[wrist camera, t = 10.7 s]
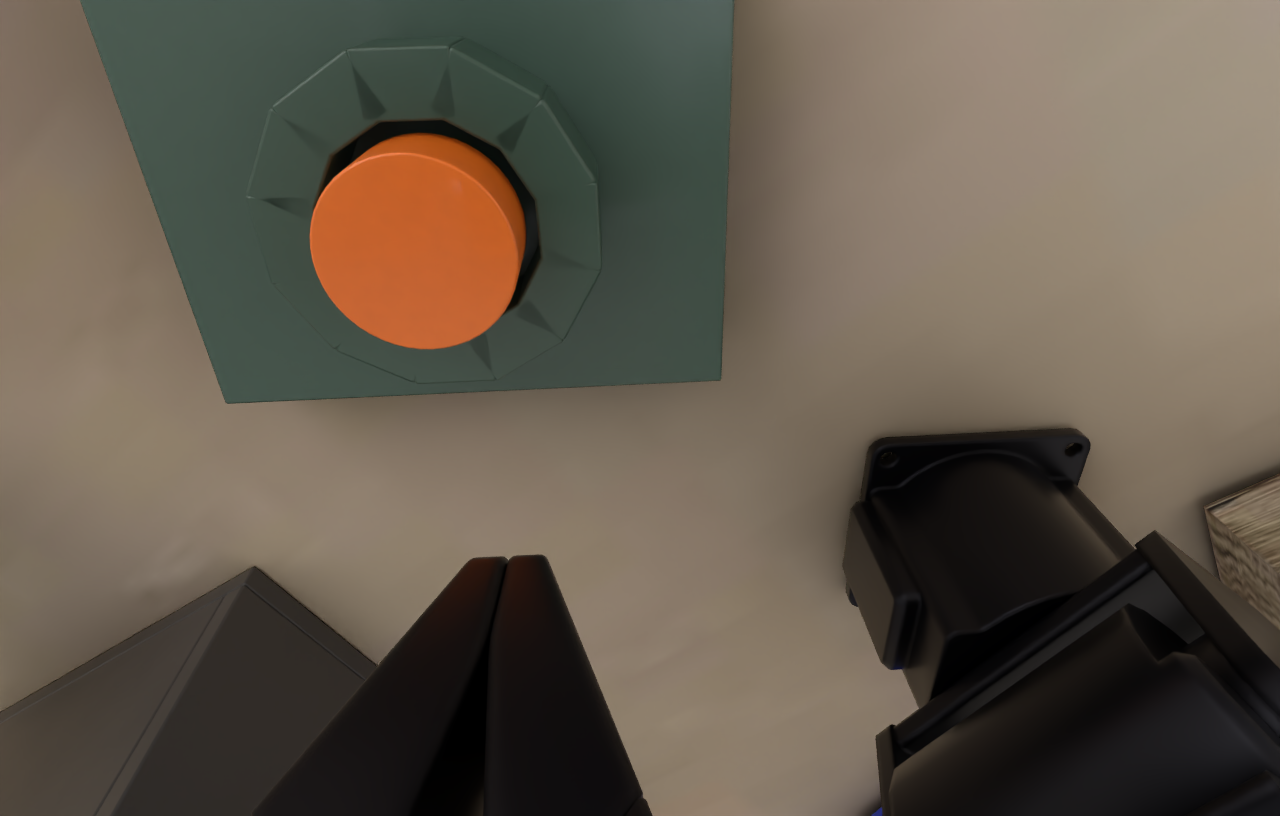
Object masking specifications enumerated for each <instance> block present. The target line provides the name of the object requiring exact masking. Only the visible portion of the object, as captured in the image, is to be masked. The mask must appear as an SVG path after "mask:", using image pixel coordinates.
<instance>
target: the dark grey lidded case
mask: <svg viewBox="0 0 1280 816" xmlns="http://www.w3.org/2000/svg"><path fill="white" fill-rule="evenodd" d="M376 667H377V666H375V665H374V664H373V663H372V662H371V661H369V660H368V659H367V658H366V657H364V656H363V655H362V654H361V653H360V652H358V651H357V650H356V649H355V648H353V647H352V646H351V645H350V644H349V643H347V642H346V641H345V640H344V639H342V638H341V637H340V636H339V635H338V634H336V633H335V632H334V631H333V630H331V629H330V628H329V627H328V626H326V625H325V624H324V623H323V622H322V621H320V620H319V619H318V618H317V617H315V616H314V615H313V614H312V613H311V612H309V611H308V610H307V609H306V608H304V607H303V606H302V605H301V604H300V603H298V602H297V601H296V600H295V599H293V598H292V597H291V596H290V595H289V594H287V593H286V592H285V591H284V590H282V589H281V588H280V587H279V586H278V585H276V584H275V583H274V582H273V581H271V580H270V579H269V578H268V577H267V576H265V575H264V574H263V573H262V572H260V571H259V570H258V569H257V568H255V567H252V568H251V569H249V570H247V571H245V572H244V573H242V574H240V575H239V576H237V577H235V578H233V579H232V580H230V581H228V582H226V583H225V584H223V585H221V586H219V587H218V588H216V589H214V590H212V591H211V592H209V593H207V594H206V595H204V596H202V597H200V598H199V599H197V600H195V601H193V602H192V603H190V604H188V605H186V606H185V607H183V608H181V609H179V610H178V611H176V612H174V613H172V614H171V615H169V616H167V617H166V618H164V619H162V620H160V621H159V622H157V623H155V624H153V625H152V626H150V627H148V628H146V629H145V630H143V631H141V632H139V633H138V634H136V635H134V636H133V637H131V638H129V639H127V640H126V641H124V642H122V643H120V644H119V645H117V646H115V647H113V648H112V649H110V650H108V651H106V652H105V653H103V654H101V655H99V656H98V657H96V658H94V659H93V660H91V661H89V662H87V663H86V664H84V665H82V666H80V667H79V668H77V669H75V670H73V671H72V672H70V673H68V674H66V675H65V676H63V677H61V678H60V679H58V680H56V681H54V682H53V683H51V684H49V685H47V686H46V687H44V688H42V689H40V690H39V691H37V692H35V693H33V694H32V695H30V696H28V697H26V698H25V699H23V700H21V701H20V702H18V703H16V704H14V705H13V706H11V707H9V708H7V709H6V710H4V711H2V712H0V816H251V813H252V811H253V810H254V809H255V807H256V806H257V805H258V804H259V803H260V802H261V801H262V799H263V798H264V797H265V796H266V795H267V794H268V792H269V791H270V790H271V789H272V788H273V787H274V785H275V784H276V783H277V782H278V781H279V780H280V779H281V777H282V776H283V775H284V774H285V773H286V772H287V770H288V769H289V768H290V767H291V766H292V765H293V763H294V762H295V761H296V760H297V759H298V758H299V756H300V755H301V754H302V753H303V752H304V751H305V750H306V748H307V747H308V746H309V745H310V744H311V743H312V741H313V740H314V739H315V738H316V737H317V736H318V734H319V733H320V732H321V731H322V730H323V729H324V728H325V726H326V725H327V724H328V723H329V722H330V721H331V719H332V718H333V717H334V716H335V715H336V714H337V712H338V711H339V710H340V709H341V708H342V707H343V706H344V704H345V703H346V702H347V701H348V700H349V699H350V697H351V696H352V695H353V694H354V693H355V692H356V690H357V689H358V688H359V687H360V686H361V685H362V684H363V682H364V681H365V680H366V679H367V678H368V677H369V675H370V674H371V673H372V672H373V671H374V670H375V668H376Z"/></svg>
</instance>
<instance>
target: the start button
mask: <svg viewBox="0 0 1280 816" xmlns="http://www.w3.org/2000/svg"><path fill="white" fill-rule="evenodd" d="M525 247H526V223H525V217H524V212H523V209H522V206H521V203H520V200H519V198H518V196H517V194H516V191H515V190H514V188H513V186H512V185H511V183H510V181H509V180H508V178H507V177H506V176H505V175H504V173H503V172H502V171H501V170H500V169H499V168H498V167H497V166H496V165H495V164H494V163H493V162H492V161H491V160H490V159H489V158H488V157H486V156H485V155H484V154H483V153H481V152H480V151H478V150H477V149H475V148H473V147H472V146H470V145H468V144H466V143H464V142H461V141H459V140H457V139H454V138H451V137H447V136H444V135H439V134H433V133H409V134H402V135H398V136H394V137H391V138H388V139H386V140H384V141H381V142H379V143H378V144H376V145H374V146H373V147H371V148H370V149H368V150H367V151H366V152H365V153H363V154H362V155H361V156H360V157H358V158H357V159H356V160H355V161H353V162H352V163H351V164H350V165H348V166H347V167H346V168H345V169H343V170H342V171H341V172H340V173H339V174H338V175H336V176H335V177H334V178H333V179H332V180H331V182H330V183H329V184H328V185H327V186H326V187H325V189H324V191H323V192H322V194H321V195H320V197H319V199H318V201H317V204H316V206H315V209H314V211H313V216H312V220H311V226H310V250H311V255H312V260H313V264H314V267H315V270H316V273H317V276H318V278H319V280H320V282H321V284H322V286H323V288H324V290H325V291H326V293H327V294H328V296H329V297H330V299H331V300H332V301H333V303H334V304H335V305H336V306H337V308H338V309H339V310H340V311H341V312H342V313H343V314H344V315H345V316H346V317H347V318H348V319H350V320H351V321H352V322H353V323H355V324H356V325H357V326H358V327H360V328H361V329H363V330H365V331H366V332H368V333H369V334H371V335H373V336H375V337H377V338H379V339H381V340H384V341H387V342H389V343H392V344H395V345H399V346H403V347H407V348H415V349H441V348H447V347H452V346H456V345H459V344H462V343H465V342H467V341H470V340H472V339H474V338H475V337H477V336H479V335H481V334H482V333H484V332H485V331H486V330H488V329H489V328H490V327H491V326H492V325H493V324H494V323H495V322H496V321H497V320H498V319H499V318H500V317H501V315H502V314H503V313H504V312H505V310H506V308H507V307H508V305H509V303H510V301H511V299H512V296H513V294H514V291H515V288H516V284H517V280H518V276H519V272H520V268H521V264H522V260H523V256H524V252H525Z"/></svg>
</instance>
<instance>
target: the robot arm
mask: <svg viewBox="0 0 1280 816" xmlns="http://www.w3.org/2000/svg"><path fill="white" fill-rule="evenodd" d="M1072 443H1074V444H1073V445H1072V446H1071V447H1070V448H1068V449H1066V447H1067V446H1069V445H1070V444H1072ZM1090 445H1091V444H1090V441H1089V439H1088V438H1087V437H1086V436H1085V435H1083V434H1082V433H1081V432H1080V431H1079V430H1077V429H1071V428H1068V429H1048V430H1027V431H1007V432H987V433H967V434H946V435H926V436H906V437H886V438H882V439H879V440H877V441H875V442H874V443H873V444H872V445H871V446H870V447H869V449H868V452H867V458H866V464H865V470H864V477H863V483H862V489H861V496H860V502H856V503H855V505H854V506H853V507H852V508H851V512H850V519H849V525H848V532H847V538H846V545H845V552H844V558H843V565H842V567H843V570H844V573H845V575H846V578H847V584H846V593H847V596H848V598H849V601H850V602H851V604H852V605H854V606H856V607H859V610H860V612H861V614H862V617H863V619H864V622H865V624H866V627H867V629H868V632H869V634H870V636H871V639H872V641H873V644H874V646H875V649H876V651H877V654H878V656H879V659H880V661H881V663H882V664H884V665H885V666H886V667H887V668H888V669H890V670H897V669H902V670H903V673H904V675H905V677H906V680H907V682H908V684H909V686H910V689H911V691H912V693H913V696H914V698H915V700H916V703H917V705H918V707H919V709H918V710H917V711H915V712H914V713H913V714H911V715H910V716H909V717H907V718H906V719H905V720H903V721H902V722H901V723H899V724H898V725H896V726H895V725H893V724H892V725H890V726H889V727H887V728H886V729H885V730H883V731H882V732H880V733H879V734H878V735H876V748H877V759H878V770H879V782H880V793H881V804H882V816H1280V630H1279V629H1278V628H1277V627H1275V626H1274V625H1273V624H1272V623H1271V622H1270V621H1269V620H1268V619H1267V618H1266V617H1265V616H1264V615H1263V614H1261V613H1260V612H1259V611H1258V610H1257V609H1255V608H1254V607H1253V606H1252V605H1250V604H1249V603H1248V602H1247V601H1245V600H1244V599H1243V598H1241V597H1240V596H1239V595H1238V594H1236V593H1235V592H1234V591H1232V590H1231V589H1230V588H1229V587H1227V586H1226V585H1225V584H1223V583H1222V582H1221V581H1220V580H1218V579H1217V578H1216V577H1215V576H1213V575H1212V574H1211V573H1209V572H1208V571H1207V570H1206V569H1204V568H1203V567H1202V566H1200V565H1199V564H1198V563H1197V562H1195V561H1194V560H1193V559H1191V558H1190V557H1189V556H1188V555H1186V554H1185V553H1184V552H1183V551H1181V550H1180V549H1179V548H1177V547H1176V546H1175V545H1174V544H1172V543H1171V542H1170V541H1168V540H1167V539H1166V538H1165V537H1163V536H1162V535H1161V534H1159V533H1158V532H1157V531H1156V530H1154V531H1153V532H1151V533H1150V534H1149V535H1147V536H1146V537H1145V538H1143V539H1142V540H1140V541H1139V542H1138V543H1136V544H1135V546H1136V548H1137V549H1136V550H1135V549H1134V548H1133V547H1132V545H1131V544H1130V543H1129V542H1128V541H1127V540H1126V539H1125V538H1124V537H1123V536H1122V535H1121V534H1120V532H1119V531H1118V530H1117V529H1116V528H1115V527H1114V526H1113V525H1112V524H1111V523H1110V522H1109V521H1108V519H1107V518H1106V517H1105V516H1104V515H1103V514H1102V513H1101V512H1100V511H1099V510H1098V509H1097V508H1096V506H1095V505H1094V504H1093V503H1092V502H1091V501H1090V500H1089V499H1088V498H1087V497H1086V496H1085V495H1084V493H1083V492H1082V491H1081V490H1080V489H1079V488H1078V487H1077V485H1078V483H1079V480H1080V477H1081V474H1082V471H1083V468H1084V465H1085V462H1086V459H1087V456H1088V453H1089V451H1090ZM888 452H892V454H891V455H890V456H889V457H887V458H884V459H881V456H882V455H884V454H885V453H888ZM251 816H652V813H651V811H650V808H649V806H648V803H647V801H646V800H645V799H644V798H643V793H642V790H641V787H640V785H639V782H638V780H637V777H636V775H635V773H634V770H633V768H632V765H631V763H630V760H629V758H628V755H627V753H626V750H625V748H624V746H623V743H622V741H621V738H620V736H619V733H618V731H617V728H616V726H615V723H614V721H613V719H612V716H611V714H610V711H609V709H608V706H607V704H606V701H605V699H604V696H603V694H602V692H601V689H600V687H599V684H598V682H597V679H596V677H595V674H594V672H593V669H592V667H591V665H590V662H589V660H588V657H587V655H586V652H585V650H584V647H583V645H582V642H581V640H580V638H579V635H578V633H577V630H576V628H575V625H574V623H573V620H572V618H571V616H570V613H569V611H568V608H567V606H566V603H565V601H564V598H563V596H562V593H561V591H560V589H559V586H558V584H557V581H556V579H555V576H554V574H553V571H552V569H551V566H550V564H549V562H548V559H547V558H546V557H545V556H544V555H521V556H513V557H511V558H510V559H509V561H508V560H507V559H506V558H505V557H502V556H500V557H479V558H473V559H471V560H469V561H468V562H467V563H466V564H465V565H464V566H463V568H462V569H461V570H460V571H459V572H458V573H457V575H456V576H455V577H454V578H453V579H452V580H451V582H450V583H449V584H448V585H447V586H446V587H445V589H444V590H443V591H442V592H441V593H440V594H439V595H438V597H437V598H436V599H435V600H434V601H433V602H432V604H431V605H430V606H429V607H428V608H427V609H426V611H425V612H424V613H423V614H422V615H421V616H420V617H419V619H418V620H417V621H416V622H415V623H414V624H413V626H412V627H411V628H410V629H409V630H408V631H407V633H406V634H405V635H404V636H403V637H402V638H401V639H400V641H399V642H398V643H397V644H396V645H395V646H394V648H393V649H392V650H391V651H390V652H389V653H388V655H387V656H386V657H385V658H384V659H383V660H382V661H381V663H380V664H379V665H378V666H377V667H376V668H375V670H374V671H373V672H372V673H371V674H370V675H369V677H368V678H367V679H366V680H365V681H364V682H363V684H362V685H361V686H360V687H359V688H358V689H357V690H356V692H355V693H354V694H353V695H352V696H351V697H350V699H349V700H348V701H347V702H346V703H345V704H344V706H343V707H342V708H341V709H340V710H339V711H338V712H337V714H336V715H335V716H334V717H333V718H332V719H331V721H330V722H329V723H328V724H327V725H326V726H325V728H324V729H323V730H322V731H321V732H320V733H319V734H318V736H317V737H316V738H315V739H314V740H313V741H312V743H311V744H310V745H309V746H308V747H307V748H306V750H305V751H304V752H303V753H302V754H301V755H300V756H299V758H298V759H297V760H296V761H295V762H294V763H293V765H292V766H291V767H290V768H289V769H288V770H287V772H286V773H285V774H284V775H283V776H282V777H281V779H280V780H279V781H278V782H277V783H276V784H275V785H274V787H273V788H272V789H271V790H270V791H269V792H268V794H267V795H266V796H265V797H264V798H263V799H262V801H261V802H260V803H259V804H258V805H257V806H256V807H255V809H254V810H253V811H252V813H251Z"/></svg>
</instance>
